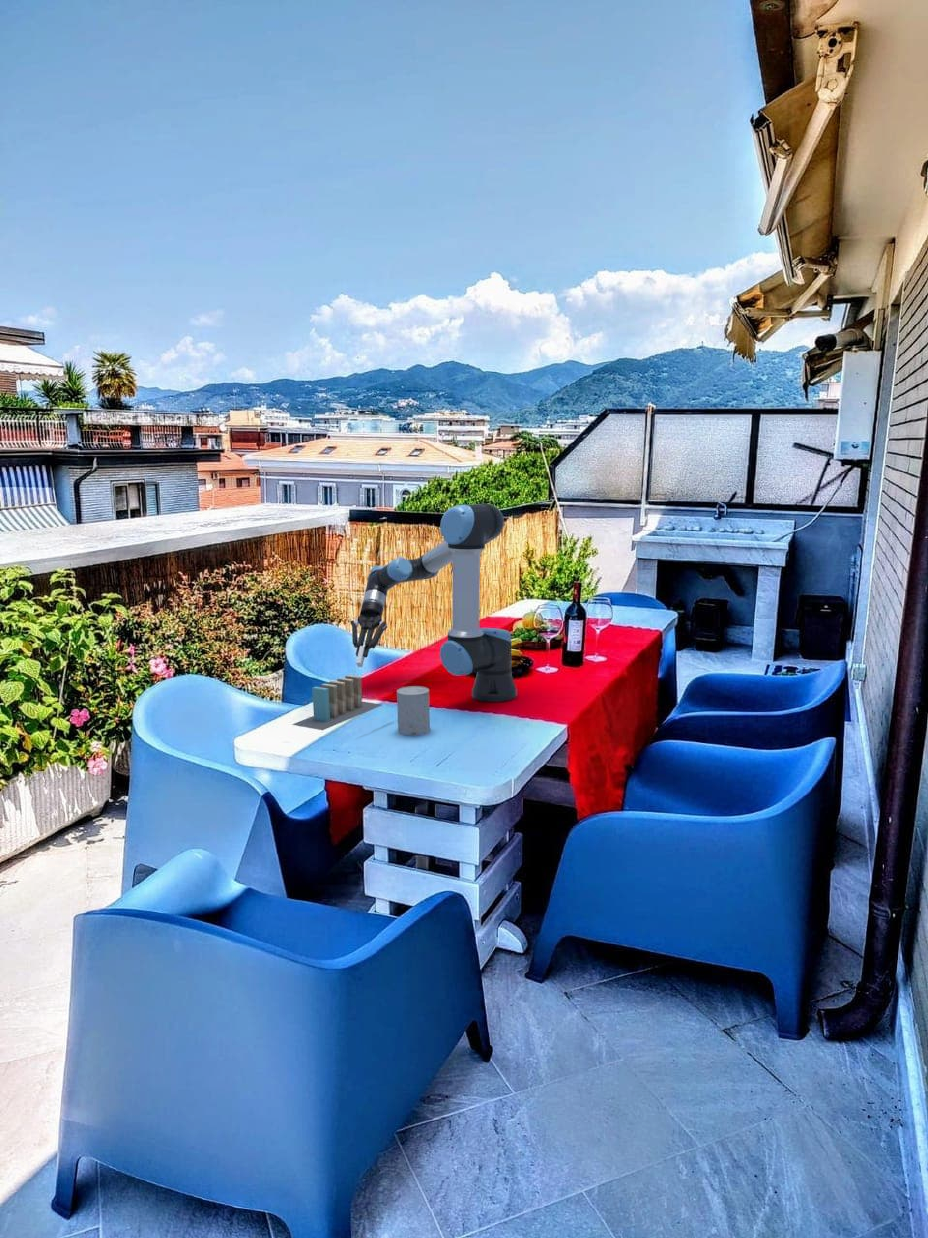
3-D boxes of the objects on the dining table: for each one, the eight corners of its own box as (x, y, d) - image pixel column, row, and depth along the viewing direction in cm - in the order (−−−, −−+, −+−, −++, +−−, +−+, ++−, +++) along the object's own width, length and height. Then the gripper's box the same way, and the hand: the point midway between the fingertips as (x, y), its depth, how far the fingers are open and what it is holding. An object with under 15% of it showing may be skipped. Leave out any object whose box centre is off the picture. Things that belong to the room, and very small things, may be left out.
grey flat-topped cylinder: (418, 737, 246) (416, 696, 243) (391, 732, 250) (390, 692, 248) (436, 728, 253) (435, 688, 251) (410, 724, 258) (409, 684, 256)
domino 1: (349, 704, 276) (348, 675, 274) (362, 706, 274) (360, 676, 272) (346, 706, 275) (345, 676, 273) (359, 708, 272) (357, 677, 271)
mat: (353, 702, 282) (353, 700, 282) (383, 707, 276) (383, 704, 276) (291, 727, 257) (291, 724, 257) (322, 733, 251) (322, 730, 251)
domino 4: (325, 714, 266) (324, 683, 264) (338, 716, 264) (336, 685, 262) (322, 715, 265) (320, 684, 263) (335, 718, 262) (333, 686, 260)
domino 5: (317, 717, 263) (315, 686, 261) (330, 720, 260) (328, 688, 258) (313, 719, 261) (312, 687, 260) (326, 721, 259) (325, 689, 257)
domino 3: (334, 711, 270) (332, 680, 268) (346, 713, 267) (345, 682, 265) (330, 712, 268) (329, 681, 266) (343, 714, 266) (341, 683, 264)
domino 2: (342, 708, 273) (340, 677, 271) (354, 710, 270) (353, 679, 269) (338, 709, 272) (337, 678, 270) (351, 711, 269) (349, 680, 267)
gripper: (393, 612, 296) (380, 671, 283) (357, 611, 299) (343, 669, 286) (388, 600, 290) (375, 659, 277) (352, 599, 293) (337, 658, 280)
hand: (359, 664), depth 282 cm, fingers closed
